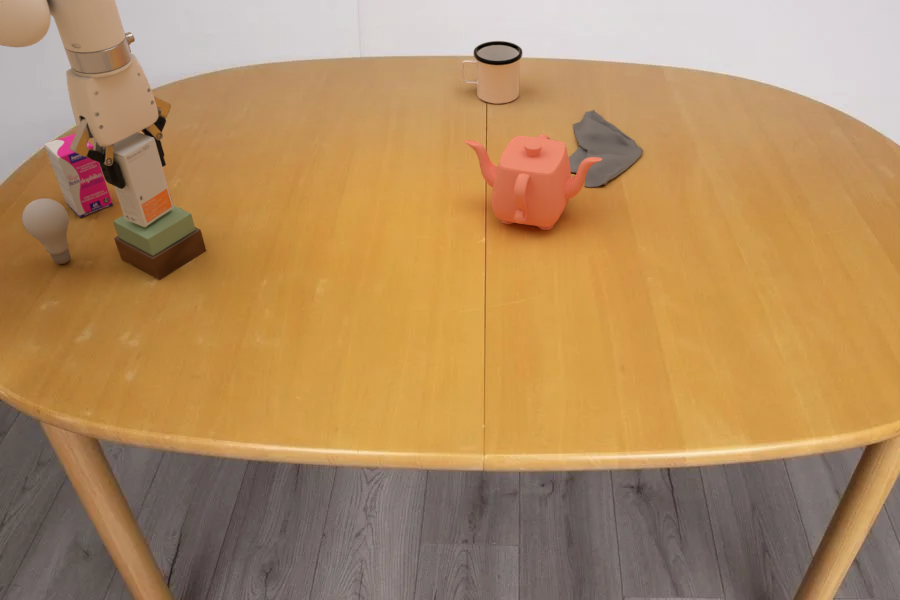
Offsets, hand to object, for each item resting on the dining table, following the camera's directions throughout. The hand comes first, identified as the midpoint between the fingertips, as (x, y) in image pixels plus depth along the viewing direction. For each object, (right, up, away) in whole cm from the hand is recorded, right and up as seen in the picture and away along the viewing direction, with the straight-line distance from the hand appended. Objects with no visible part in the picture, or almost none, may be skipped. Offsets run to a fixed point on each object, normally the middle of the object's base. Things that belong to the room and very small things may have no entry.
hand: (137, 173), depth 125 cm
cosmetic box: (0, -5, +5) cm, 7 cm away
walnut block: (0, -11, +10) cm, 15 cm away
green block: (0, -8, +7) cm, 11 cm away
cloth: (+71, +10, +33) cm, 79 cm away
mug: (+50, +25, +49) cm, 74 cm away
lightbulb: (-15, -12, +9) cm, 21 cm away
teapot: (+57, -3, +19) cm, 60 cm away
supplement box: (-16, -2, +20) cm, 26 cm away
